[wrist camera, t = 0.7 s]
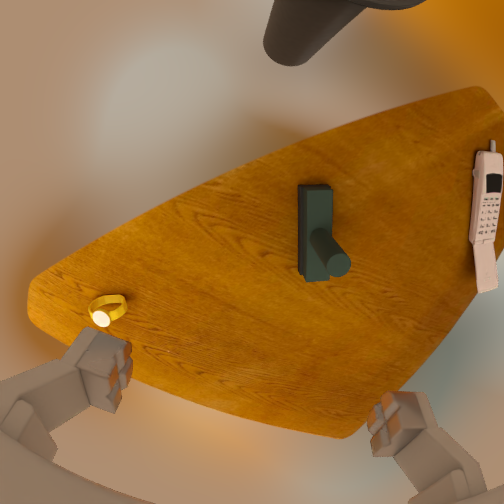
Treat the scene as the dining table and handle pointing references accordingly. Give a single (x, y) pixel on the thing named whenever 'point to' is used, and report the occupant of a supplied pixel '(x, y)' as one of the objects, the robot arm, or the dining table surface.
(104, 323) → the watch
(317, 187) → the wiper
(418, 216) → the dining table surface
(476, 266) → the mobile phone
